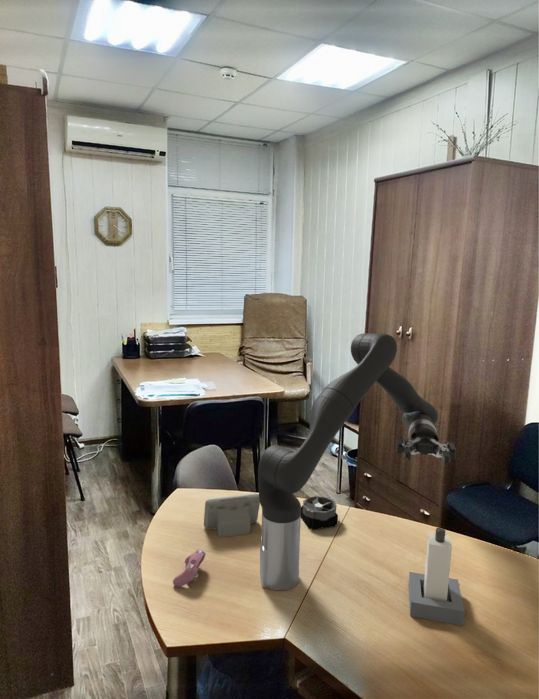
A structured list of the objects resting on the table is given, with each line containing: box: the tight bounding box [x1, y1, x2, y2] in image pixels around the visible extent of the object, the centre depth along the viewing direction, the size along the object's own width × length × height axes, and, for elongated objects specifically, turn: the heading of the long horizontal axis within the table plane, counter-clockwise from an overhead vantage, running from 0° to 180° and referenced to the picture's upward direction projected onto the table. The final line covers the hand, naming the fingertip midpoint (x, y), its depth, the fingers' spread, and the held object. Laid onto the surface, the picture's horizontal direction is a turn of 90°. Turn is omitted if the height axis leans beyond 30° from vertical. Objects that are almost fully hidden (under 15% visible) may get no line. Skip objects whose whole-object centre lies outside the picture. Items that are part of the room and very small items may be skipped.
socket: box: [407, 571, 465, 627], centre depth 112 cm, size 11×11×4 cm
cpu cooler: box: [301, 495, 339, 531], centre depth 147 cm, size 10×6×10 cm
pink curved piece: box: [172, 549, 207, 588], centre depth 120 cm, size 10×5×7 cm, turn 170°
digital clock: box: [203, 492, 261, 538], centre depth 142 cm, size 16×9×11 cm, turn 95°
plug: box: [422, 527, 453, 601], centre depth 111 cm, size 5×5×18 cm
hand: (427, 458), depth 119 cm, fingers open, 8 cm apart
